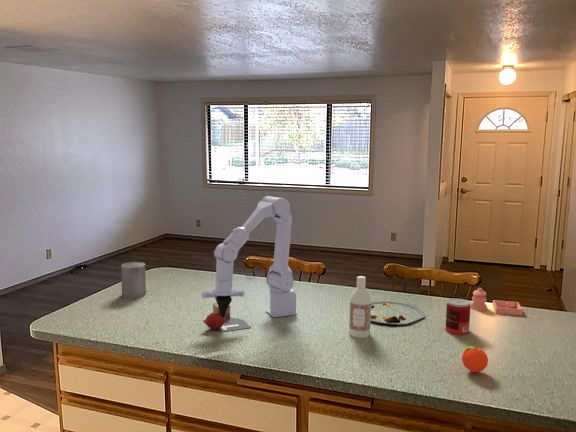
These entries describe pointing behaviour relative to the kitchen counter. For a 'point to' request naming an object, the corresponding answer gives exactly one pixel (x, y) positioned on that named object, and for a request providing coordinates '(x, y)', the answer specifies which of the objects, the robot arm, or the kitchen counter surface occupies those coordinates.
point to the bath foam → (360, 310)
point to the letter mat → (233, 325)
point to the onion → (214, 320)
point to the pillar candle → (133, 280)
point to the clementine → (474, 359)
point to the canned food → (457, 316)
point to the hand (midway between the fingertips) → (222, 317)
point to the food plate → (394, 319)
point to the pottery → (494, 304)
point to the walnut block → (216, 309)
